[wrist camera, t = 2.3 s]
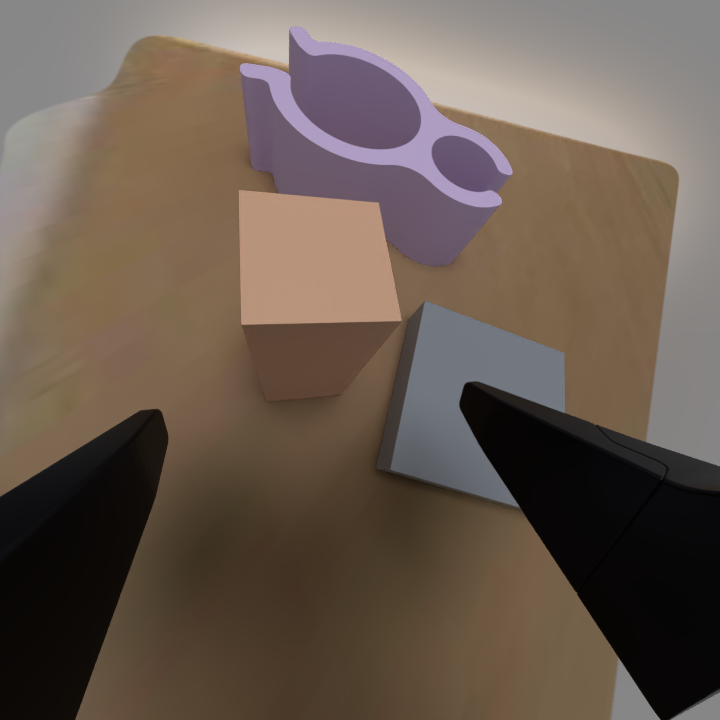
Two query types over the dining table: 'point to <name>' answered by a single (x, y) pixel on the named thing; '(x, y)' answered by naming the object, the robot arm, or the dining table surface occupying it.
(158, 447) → the robot arm
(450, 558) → the dining table surface
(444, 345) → the plate
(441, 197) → the clip
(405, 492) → the dining table surface
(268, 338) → the tan block
